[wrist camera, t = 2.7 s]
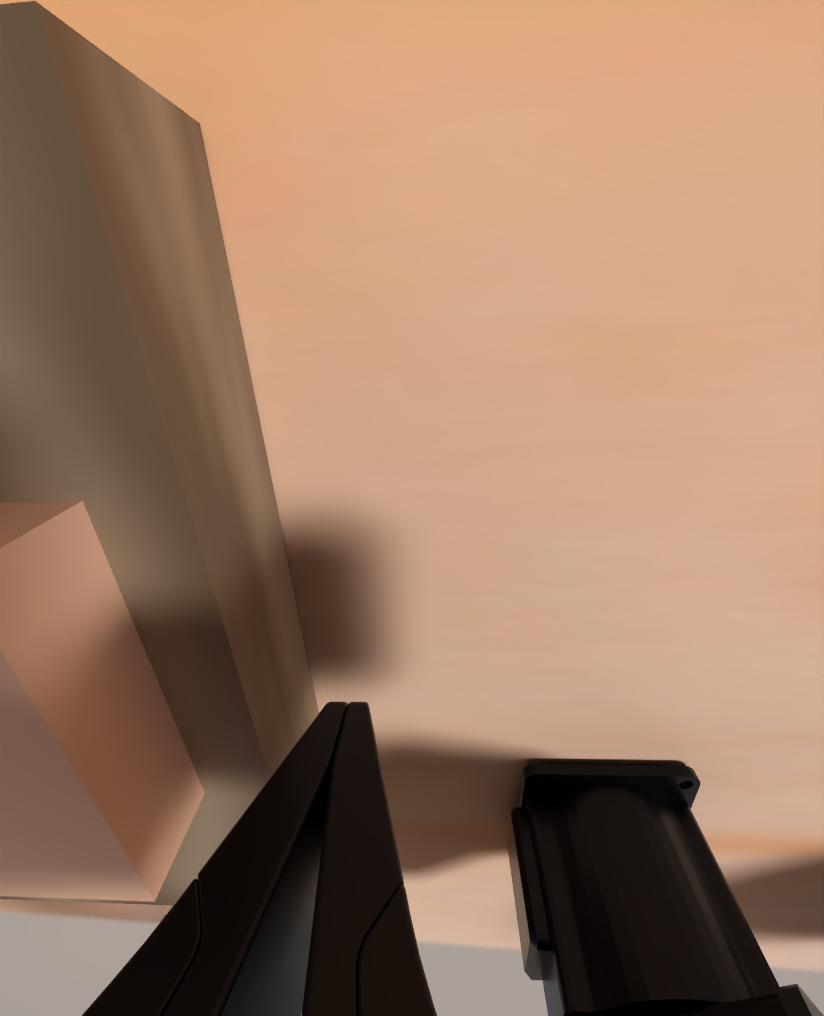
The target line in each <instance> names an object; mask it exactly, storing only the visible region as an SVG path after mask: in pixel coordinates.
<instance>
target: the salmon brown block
mask: <svg viewBox="0 0 824 1016" xmlns="http://www.w3.org/2000/svg"><path fill="white" fill-rule="evenodd" d="M204 794H205V793H204V790H203V788H202V785H201V783H200V781H199V778H198V776H197V773H196V771H195V769H194V766H193V764H192V762H191V759H190V757H189V754H188V752H187V750H186V747H185V745H184V742H183V740H182V738H181V735H180V733H179V730H178V728H177V726H176V723H175V721H174V718H173V716H172V714H171V711H170V709H169V707H168V704H167V702H166V699H165V697H164V695H163V692H162V690H161V687H160V685H159V683H158V680H157V678H156V675H155V673H154V671H153V668H152V666H151V664H150V661H149V659H148V656H147V654H146V652H145V649H144V647H143V644H142V642H141V640H140V637H139V635H138V632H137V630H136V628H135V625H134V623H133V620H132V618H131V616H130V613H129V611H128V609H127V606H126V604H125V601H124V599H123V597H122V594H121V592H120V589H119V587H118V585H117V582H116V580H115V577H114V575H113V573H112V570H111V568H110V566H109V563H108V561H107V558H106V556H105V554H104V551H103V549H102V546H101V544H100V542H99V539H98V537H97V534H96V532H95V530H94V527H93V525H92V522H91V520H90V518H89V515H88V513H87V511H86V508H85V506H84V503H83V501H51V502H6V503H0V896H10V897H38V898H65V899H93V900H121V901H149V902H155V900H156V898H157V896H158V893H159V891H160V889H161V887H162V885H163V883H164V880H165V878H166V876H167V874H168V872H169V870H170V867H171V865H172V863H173V861H174V859H175V857H176V854H177V852H178V850H179V848H180V846H181V844H182V842H183V839H184V837H185V835H186V833H187V831H188V829H189V826H190V824H191V822H192V820H193V818H194V816H195V813H196V811H197V809H198V807H199V805H200V803H201V800H202V798H203V796H204Z"/></svg>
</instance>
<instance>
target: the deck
mask: <svg viewBox="0 0 824 1016" xmlns="http://www.w3.org/2000/svg"><path fill="white" fill-rule="evenodd" d="M51 501H83V503H84V506H85V508H86V511H87V513H88V515H89V518H90V520H91V522H92V525H93V527H94V530H95V532H96V534H97V537H98V539H99V542H100V544H101V546H102V549H103V551H104V554H105V556H106V558H107V561H108V563H109V566H110V568H111V570H112V573H113V575H114V577H115V580H116V582H117V585H118V587H119V589H120V592H121V594H122V597H123V599H124V601H125V604H126V606H127V609H128V611H129V613H130V616H131V618H132V620H133V623H134V625H135V628H136V630H137V632H138V635H139V637H140V640H141V642H142V644H143V647H144V649H145V652H146V654H147V656H148V659H149V661H150V664H151V666H152V668H153V671H154V673H155V675H156V678H157V680H158V683H159V685H160V687H161V690H162V692H163V695H164V697H165V699H166V702H167V704H168V707H169V709H170V711H171V714H172V716H173V718H174V721H175V723H176V726H177V728H178V730H179V733H180V735H181V738H182V740H183V742H184V745H185V747H186V750H187V752H188V754H189V757H190V759H191V762H192V764H193V766H194V769H195V771H196V773H197V776H198V778H199V781H200V783H201V785H202V788H203V790H204V793H205V794H204V796H203V798H202V800H201V803H200V805H199V807H198V809H197V811H196V813H195V816H194V818H193V820H192V822H191V824H190V826H189V829H188V831H187V833H186V835H185V837H184V839H183V842H182V844H181V846H180V848H179V850H178V852H177V854H176V857H175V859H174V861H173V863H172V865H171V867H170V870H169V872H168V874H167V876H166V878H165V880H164V883H163V885H162V887H161V889H160V891H159V893H158V896H157V898H156V900H155V902H149V901H121V900H93V899H65V898H38V897H10V896H0V899H17V900H44V901H72V902H99V903H126V904H154V905H175V903H176V902H177V901H178V899H179V898H180V897H181V895H182V894H183V893H184V891H185V890H186V889H187V887H188V886H189V885H190V883H191V882H192V881H193V880H194V879H198V873H199V872H200V870H201V869H202V868H203V866H204V865H205V864H206V863H207V861H208V860H209V859H210V857H211V856H212V855H213V853H214V852H215V851H216V849H217V848H218V847H219V845H220V844H221V843H222V841H223V840H224V839H225V837H226V836H227V835H228V833H229V832H230V831H231V829H232V828H233V827H234V825H235V824H236V823H237V821H238V820H239V819H240V818H241V816H242V815H243V814H244V812H245V811H246V810H247V808H248V807H249V806H250V804H251V803H252V802H253V800H254V799H255V798H256V796H257V795H258V794H259V792H260V791H261V790H262V788H263V787H264V786H265V784H266V783H267V782H268V780H269V779H270V778H271V777H272V775H273V774H274V773H275V771H276V770H277V769H278V767H279V766H280V765H281V763H282V762H283V761H284V759H285V758H286V757H287V755H288V754H289V753H290V751H291V750H292V749H293V747H294V746H295V745H296V743H297V742H298V741H299V739H300V738H301V737H302V736H303V734H304V733H305V732H306V730H307V729H308V728H309V726H310V725H311V724H312V722H313V721H314V720H315V718H316V717H317V716H318V714H319V712H318V707H317V702H316V697H315V692H314V688H313V683H312V678H311V673H310V668H309V663H308V658H307V653H306V648H305V643H304V638H303V633H302V628H301V623H300V618H299V613H298V608H297V603H296V598H295V593H294V588H293V583H292V578H291V573H290V569H289V564H288V559H287V554H286V549H285V544H284V539H283V534H282V529H281V524H280V519H279V514H278V509H277V504H276V499H275V494H274V489H273V484H272V479H271V474H270V469H269V464H268V459H267V455H266V450H265V445H264V440H263V435H262V430H261V425H260V420H259V415H258V410H257V405H256V400H255V395H254V390H253V385H252V380H251V375H250V370H249V365H248V360H247V355H246V350H245V345H244V340H243V336H242V331H241V326H240V321H239V316H238V311H237V306H236V301H235V296H234V291H233V286H232V281H231V276H230V271H229V266H228V261H227V256H226V251H225V246H224V241H223V236H222V231H221V226H220V222H219V217H218V212H217V207H216V202H215V197H214V192H213V187H212V182H211V177H210V172H209V167H208V162H207V157H206V152H205V147H204V142H203V137H202V132H201V127H200V123H198V122H197V121H196V120H194V119H193V118H192V117H190V116H189V115H188V114H186V113H185V112H184V111H182V110H181V109H180V108H178V107H177V106H175V105H174V104H173V103H171V102H170V101H169V100H167V99H166V98H165V97H163V96H162V95H161V94H159V93H158V92H157V91H155V90H154V89H153V88H151V87H150V86H149V85H147V84H146V83H145V82H143V81H142V80H141V79H139V78H138V77H137V76H135V75H134V74H133V73H131V72H130V71H129V70H127V69H126V68H124V67H123V66H122V65H120V64H119V63H118V62H116V61H115V60H114V59H112V58H111V57H110V56H108V55H107V54H106V53H104V52H103V51H102V50H100V49H99V48H98V47H96V46H95V45H94V44H92V43H91V42H90V41H88V40H87V39H86V38H84V37H83V36H82V35H80V34H79V33H78V32H76V31H75V30H73V29H72V28H71V27H69V26H68V25H67V24H65V23H64V22H63V21H61V20H60V19H59V18H57V17H56V16H55V15H53V14H52V13H51V12H49V11H48V10H47V9H45V8H44V7H43V6H41V5H40V4H39V3H37V2H36V1H31V2H20V3H10V4H0V503H6V502H51Z"/></svg>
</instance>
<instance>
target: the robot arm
mask: <svg viewBox="0 0 824 1016" xmlns="http://www.w3.org/2000/svg"><path fill="white" fill-rule="evenodd" d="M699 787H700V781H699V779H698V777H697V775H696V773H695V772H694V770H693V769H692V768H690V767H687V766H646V765H580V764H531V765H528V766H526V767H525V768H524V769H523V772H522V781H521V790H520V800H519V806H515V807H514V808H513V810H512V811H511V813H510V823H509V833H508V853H509V860H510V868H511V875H512V883H513V890H514V897H515V905H516V912H517V920H518V927H519V934H520V942H521V949H522V956H523V964H524V971H525V972H526V974H527V975H528V976H529V977H530V979H531V980H543V985H544V992H545V998H546V1004H547V1010H548V1016H823V1014H822V1013H821V1012H820V1011H819V1010H818V1008H817V1007H816V1006H815V1005H814V1004H813V1002H812V1001H811V1000H810V999H809V998H808V997H807V995H806V994H805V993H804V992H803V990H802V989H801V988H800V987H799V986H798V985H797V984H794V985H789V986H783V987H779V985H778V983H777V981H776V979H775V977H774V975H773V973H772V971H771V969H770V967H769V965H768V963H767V961H766V959H765V957H764V955H763V953H762V951H761V949H760V947H759V945H758V943H757V941H756V939H755V937H754V935H753V933H752V931H751V929H750V927H749V925H748V923H747V921H746V919H745V917H744V915H743V913H742V911H741V909H740V907H739V905H738V903H737V901H736V899H735V897H734V895H733V893H732V891H731V889H730V887H729V885H728V883H727V881H726V879H725V877H724V875H723V873H722V871H721V869H720V867H719V865H718V863H717V861H716V859H715V857H714V855H713V853H712V851H711V849H710V847H709V845H708V843H707V841H706V839H705V837H704V835H703V833H702V831H701V829H700V827H699V825H698V823H697V821H696V819H695V817H694V815H693V813H692V811H691V806H692V804H693V801H694V799H695V796H696V794H697V792H698V789H699ZM301 1013H302V1016H437V1014H436V1011H435V1008H434V1005H433V1001H432V998H431V994H430V991H429V987H428V984H427V980H426V977H425V973H424V970H423V966H422V962H421V959H420V956H419V951H418V946H417V942H416V938H415V933H414V929H413V924H412V920H411V916H410V911H409V906H408V901H407V895H406V890H405V887H404V882H403V876H402V871H401V866H400V861H399V856H398V851H397V846H396V841H395V836H394V831H393V826H392V821H391V815H390V810H389V805H388V800H387V795H386V790H385V785H384V780H383V775H382V770H381V765H380V760H379V755H378V750H377V744H376V739H375V734H374V729H373V724H372V719H371V714H370V709H369V705H368V703H367V702H350V703H349V704H348V703H346V702H329V703H327V704H326V705H325V706H324V708H323V709H322V710H321V712H320V713H319V714H318V716H317V717H316V718H315V720H314V721H313V722H312V724H311V725H310V726H309V728H308V729H307V730H306V732H305V733H304V734H303V736H302V737H301V738H300V739H299V741H298V742H297V743H296V745H295V746H294V747H293V749H292V750H291V751H290V753H289V754H288V755H287V757H286V758H285V759H284V761H283V762H282V763H281V765H280V766H279V767H278V769H277V770H276V771H275V773H274V774H273V775H272V777H271V778H270V779H269V780H268V782H267V783H266V784H265V786H264V787H263V788H262V790H261V791H260V792H259V794H258V795H257V796H256V798H255V799H254V800H253V802H252V803H251V804H250V806H249V807H248V808H247V810H246V811H245V812H244V814H243V815H242V816H241V818H240V819H239V820H238V821H237V823H236V824H235V825H234V827H233V828H232V829H231V831H230V832H229V833H228V835H227V836H226V837H225V839H224V840H223V841H222V843H221V844H220V845H219V847H218V848H217V849H216V851H215V852H214V853H213V855H212V856H211V857H210V859H209V860H208V861H207V863H206V864H205V865H204V866H203V868H202V869H201V870H200V872H199V873H198V879H194V880H193V881H192V882H191V883H190V885H189V886H188V887H187V889H186V890H185V891H184V893H183V894H182V895H181V897H180V898H179V899H178V901H177V902H176V903H175V905H174V906H173V907H172V908H171V910H170V911H169V912H168V913H167V915H166V916H165V917H164V919H163V920H162V921H161V922H160V924H159V925H158V926H157V927H156V929H155V930H154V931H153V933H152V934H151V935H150V936H149V938H148V939H147V940H146V942H145V943H144V944H143V945H142V946H141V948H140V949H139V950H138V951H137V952H136V953H135V955H134V956H133V957H132V958H131V959H130V960H129V962H128V963H127V964H126V965H125V966H124V967H123V969H122V970H121V971H120V972H119V973H118V974H117V976H116V977H115V978H114V979H113V980H112V982H111V983H110V984H109V985H108V986H107V987H106V988H105V990H104V991H103V992H102V993H101V994H100V995H99V996H98V998H97V999H96V1000H95V1001H94V1002H93V1004H91V1006H90V1007H89V1008H88V1009H87V1010H86V1011H85V1012H84V1014H83V1015H82V1016H301Z"/></svg>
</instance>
